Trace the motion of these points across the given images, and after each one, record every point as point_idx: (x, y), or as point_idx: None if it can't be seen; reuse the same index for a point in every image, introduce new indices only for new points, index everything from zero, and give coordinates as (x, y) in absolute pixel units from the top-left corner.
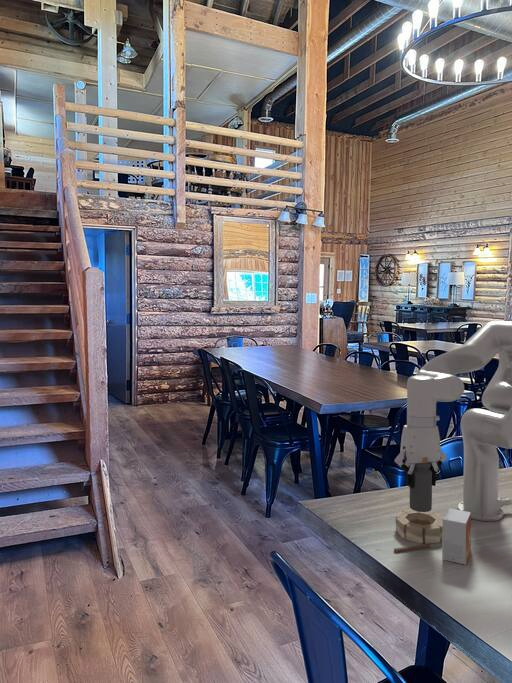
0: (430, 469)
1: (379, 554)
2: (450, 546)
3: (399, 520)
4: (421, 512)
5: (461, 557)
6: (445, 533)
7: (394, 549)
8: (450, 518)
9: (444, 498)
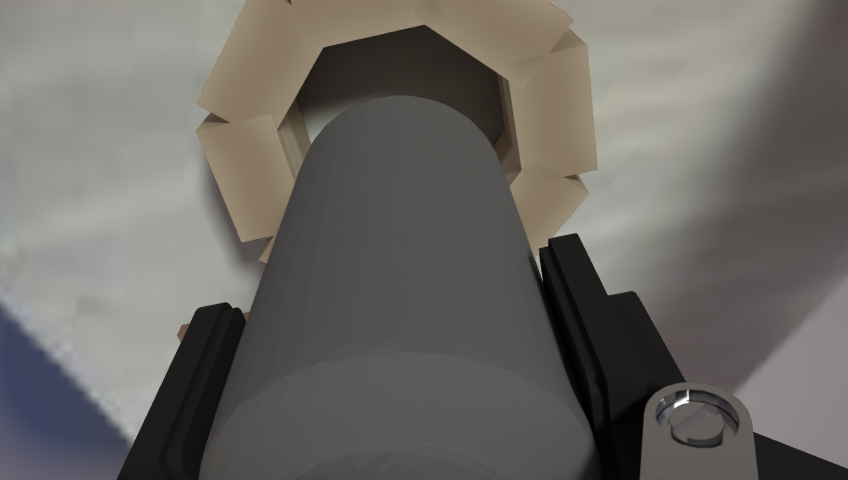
0: (617, 468)
1: (98, 350)
2: None
3: (218, 178)
4: (454, 24)
5: None
6: None
7: (180, 338)
8: None
9: None
